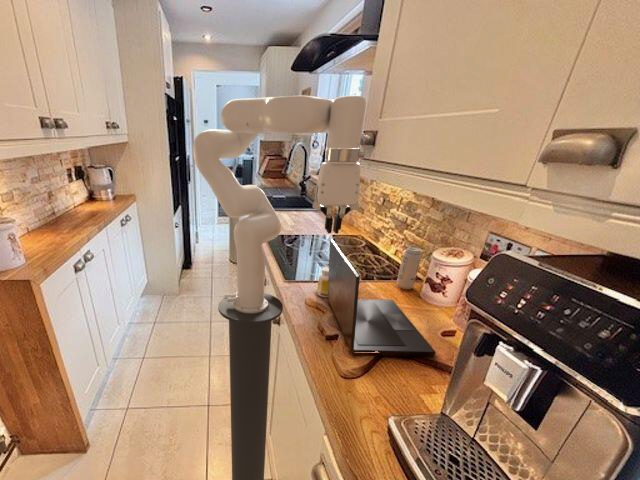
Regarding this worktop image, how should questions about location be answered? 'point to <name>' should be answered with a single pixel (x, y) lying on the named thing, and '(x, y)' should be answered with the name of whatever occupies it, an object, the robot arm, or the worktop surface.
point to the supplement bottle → (323, 283)
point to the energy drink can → (409, 267)
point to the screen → (343, 292)
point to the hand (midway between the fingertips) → (332, 231)
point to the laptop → (387, 331)
